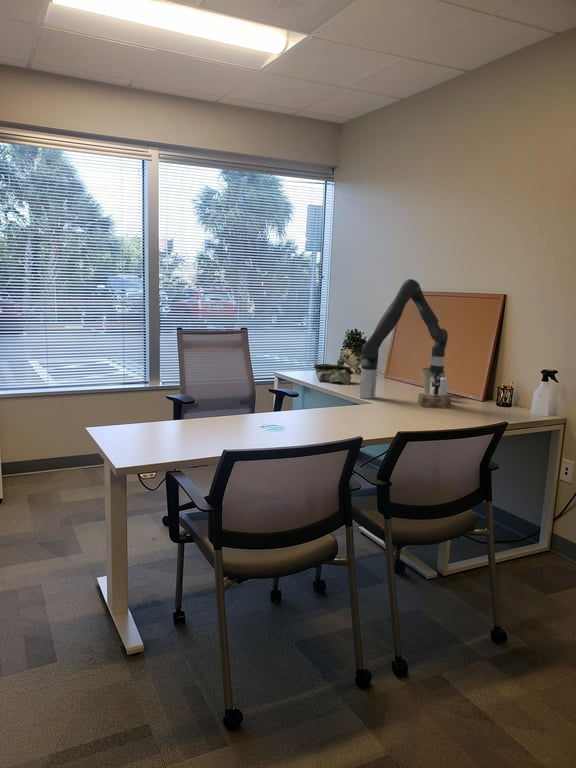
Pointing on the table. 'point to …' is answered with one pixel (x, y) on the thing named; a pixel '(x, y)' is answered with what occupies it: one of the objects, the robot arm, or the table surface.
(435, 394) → the beech peg
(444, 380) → the small box
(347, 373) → the mossy rock
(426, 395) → the walnut board
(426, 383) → the plant pot
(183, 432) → the table surface
